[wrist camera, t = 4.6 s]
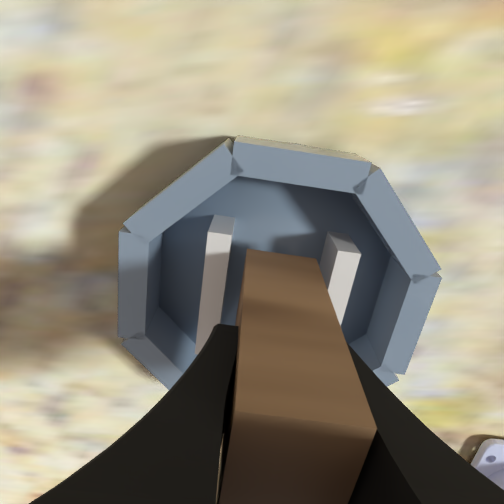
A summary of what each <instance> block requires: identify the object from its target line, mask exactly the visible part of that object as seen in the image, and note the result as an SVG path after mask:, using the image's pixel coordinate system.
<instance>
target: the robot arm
mask: <svg viewBox="0 0 504 504" xmlns="http://www.w3.org/2000/svg"><path fill="white" fill-rule="evenodd" d="M346 343H347V342H346ZM347 346H348V349H349V351H350V354H351V357H352V360H353V363H354V365H355V368H356V371H357V374H358V377H359V379H360V382H361V385H362V388H363V391H364V393H365V396H366V399H367V402H368V405H369V407H370V410H371V413H372V416H373V418H374V421H375V424H376V427H377V430H376V433H375V435H374V438H373V440H372V443H371V446H370V448H369V451H368V453H367V456H366V459H365V461H364V464H363V466H362V469H361V471H360V474H359V477H358V479H357V482H356V484H355V487H354V489H353V492H352V495H351V497H350V500H349V502H348V504H504V440H501V439H487V440H485V441H483V443H482V444H481V446H480V447H479V449H478V451H477V453H476V455H475V457H474V459H473V461H472V462H471V464H469V463H468V462H467V461H465V460H464V459H463V458H462V457H461V456H460V455H458V454H457V453H456V452H455V451H454V450H453V449H451V448H450V447H449V446H448V445H447V444H445V443H444V442H443V441H442V440H441V439H440V438H438V437H437V436H436V435H435V434H434V433H433V432H432V431H431V430H430V429H429V428H427V427H426V426H425V425H424V424H423V423H422V422H421V421H420V420H419V419H418V418H417V417H416V416H415V415H414V414H413V413H412V412H411V411H410V410H409V409H408V408H407V407H406V406H405V405H404V404H403V403H402V402H401V401H400V400H399V399H398V398H397V397H396V396H395V395H394V394H393V393H392V392H391V391H390V390H389V389H388V388H387V387H386V385H385V384H384V383H383V382H382V381H381V380H380V379H379V378H378V377H377V376H376V375H375V373H374V372H373V371H372V370H371V369H370V368H369V367H368V366H367V364H366V363H365V362H364V361H363V360H362V359H361V358H360V356H359V355H358V354H357V353H356V352H355V351H354V350H353V349H352V347H351V346H350V345H349V344H348V343H347ZM237 348H238V326H233V325H226V324H217V325H215V326H214V327H213V330H212V332H211V334H210V336H209V338H208V340H207V341H206V343H205V344H204V346H203V348H202V349H201V351H200V352H199V354H198V355H197V356H196V358H195V359H194V360H193V362H192V363H191V365H190V366H189V367H188V369H187V370H186V371H185V372H184V374H183V375H182V376H181V377H180V378H179V379H178V381H177V382H176V383H175V384H174V385H173V387H172V388H171V389H170V390H169V391H168V392H167V393H166V394H165V396H164V397H163V398H162V399H161V400H160V401H159V402H158V403H157V404H156V405H155V406H154V407H153V408H152V409H151V410H150V411H149V412H148V413H147V414H146V415H145V416H144V417H143V418H142V419H141V420H139V421H138V422H137V423H136V424H135V425H134V426H133V427H131V428H130V429H129V430H128V431H127V432H126V433H125V434H124V435H122V436H121V437H120V438H119V439H118V440H117V441H115V442H114V443H113V444H112V445H111V446H109V447H108V448H107V449H106V450H104V451H103V452H102V453H100V454H99V455H98V456H96V457H95V458H94V459H92V460H91V461H90V462H88V463H87V464H86V465H84V466H83V467H82V468H80V469H79V470H78V471H76V472H75V473H74V474H72V475H71V476H70V477H68V478H67V479H65V480H64V481H63V482H61V483H60V484H58V485H57V486H55V487H54V488H52V489H51V490H49V491H48V492H46V493H45V494H43V495H41V496H40V497H38V498H37V499H35V500H34V501H32V502H31V503H29V504H216V494H217V482H218V471H219V459H220V449H221V444H222V439H223V434H224V428H225V422H226V416H227V409H228V403H229V397H230V391H231V385H232V379H233V372H234V366H235V360H236V354H237Z"/></svg>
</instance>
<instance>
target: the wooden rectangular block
mask: <svg viewBox="0 0 504 504" xmlns="http://www.w3.org/2000/svg"><path fill="white" fill-rule="evenodd" d="M235 326H238V348H237V354H236V360H235V366H234V372H233V379H232V385H231V391H230V397H229V403H228V409H227V416H226V422H225V428H224V434H223V439H222V444H221V453H220V463H219V472H218V482H217V494H216V504H348V502H349V500H350V497H351V495H352V492H353V489H354V487H355V484H356V482H357V479H358V477H359V474H360V471H361V469H362V466H363V464H364V461H365V459H366V456H367V453H368V451H369V448H370V446H371V443H372V440H373V438H374V435H375V433H376V430H377V427H376V424H375V421H374V418H373V416H372V413H371V410H370V407H369V405H368V402H367V399H366V396H365V393H364V391H363V388H362V385H361V382H360V379H359V377H358V374H357V371H356V368H355V365H354V363H353V360H352V357H351V354H350V351H349V349H348V346H347V343H346V340H345V338H344V335H343V332H342V329H341V326H340V324H339V321H338V318H337V315H336V312H335V310H334V307H333V304H332V301H331V298H330V296H329V293H328V290H327V287H326V284H325V282H324V279H323V276H322V273H321V271H320V268H319V265H318V262H317V259H316V258H309V257H302V256H295V255H288V254H281V253H274V252H268V251H261V250H254V249H247V251H246V258H245V264H244V271H243V277H242V283H241V290H240V296H239V303H238V309H237V315H236V322H235Z"/></svg>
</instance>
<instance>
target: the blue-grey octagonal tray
mask: <svg viewBox="0 0 504 504" xmlns="http://www.w3.org/2000/svg"><path fill="white" fill-rule="evenodd" d="M123 224H124V225H125V226H124V227H123V228H122V229H121V230H120V231H119V255H118V337H122V338H124V340H123V341H122V343H121V345H123V346H124V347H125V348H126V349H127V350H128V351H129V352H130V353H131V354H132V355H133V356H134V357H135V358H136V359H137V360H138V361H139V362H140V363H141V364H142V365H143V366H144V367H145V368H147V369H148V370H149V371H150V372H151V373H152V374H153V375H154V376H155V377H156V378H157V379H158V380H159V381H160V382H161V383H162V384H163V385H164V386H165V387H166V388H167V389H168V390H170V389H171V388H172V387H173V385H174V384H175V383H176V382H177V381H178V379H179V378H180V377H181V376H182V375H183V374H184V372H185V371H186V370H187V369H188V367H189V366H190V365H191V363H192V362H193V360H194V359H195V358H196V356H197V355H198V354H199V352H200V351H201V349H202V348H203V346H204V344H205V343H206V341H207V340H208V338H209V336H210V334H211V332H212V330H213V327H214V326H215V325H217V324H226V325H233V326H235V322H236V315H237V309H238V303H239V296H240V290H241V283H242V277H243V271H244V264H245V258H246V251H247V249H254V250H261V251H268V252H274V253H281V254H288V255H295V256H302V257H309V258H316V259H317V262H318V265H319V268H320V271H321V273H322V276H323V279H324V282H325V284H326V287H327V290H328V293H329V296H330V298H331V301H332V304H333V307H334V310H335V312H336V315H337V318H338V321H339V324H340V326H341V329H342V332H343V335H344V338H345V340H346V342H347V343H348V344H349V345H350V346H351V347H352V349H353V350H354V351H355V352H356V353H357V354H358V355H359V356H360V358H361V359H362V360H363V361H364V362H365V363H366V364H367V366H368V367H369V368H370V369H371V370H372V371H373V372H374V373H375V375H376V376H377V377H378V378H379V379H380V380H381V381H382V382H383V383H384V384H385V385H386V387H387V386H389V385H391V384H393V383H395V382H397V381H399V379H398V377H397V375H396V374H404V375H405V372H406V370H407V367H408V365H409V362H410V359H411V357H412V354H413V352H414V349H415V346H416V344H417V341H418V339H419V336H420V333H421V331H422V328H423V326H424V323H425V320H426V318H427V315H428V313H429V310H430V307H431V305H432V302H433V300H434V297H435V294H436V292H437V289H438V287H439V284H440V281H441V279H442V277H441V276H440V275H439V274H438V273H437V271H439V270H441V268H440V266H439V264H438V263H437V261H436V259H435V258H434V256H433V254H432V253H431V251H430V250H429V248H428V246H427V245H426V243H425V241H424V240H423V238H422V236H421V235H420V233H419V231H418V230H417V228H416V226H415V225H414V223H413V221H412V220H411V218H410V216H409V215H408V213H407V211H406V210H405V208H404V207H403V205H402V203H401V202H400V200H399V198H398V197H397V195H396V193H395V192H394V190H393V188H392V187H391V185H390V183H389V182H388V180H387V178H386V177H385V175H384V173H383V172H382V170H381V169H380V168H379V167H377V166H375V165H374V164H372V162H370V161H368V160H366V159H364V158H362V157H360V156H359V155H357V154H355V153H349V152H342V151H336V150H330V149H323V148H317V147H310V146H306V145H301V144H297V143H288V142H278V141H272V140H265V139H259V138H253V137H246V136H240V135H238V136H237V137H236V139H235V141H234V144H233V143H232V141H231V140H230V139H229V138H228V139H226V140H225V141H224V142H223V143H221V144H220V145H219V146H217V147H216V148H215V149H214V150H212V151H211V152H210V153H209V154H207V155H206V156H205V157H204V158H202V159H201V160H200V161H198V162H197V163H196V164H195V165H193V166H192V167H191V168H190V169H188V170H187V171H185V172H184V173H183V174H182V175H181V176H179V177H178V178H177V179H176V180H174V181H173V182H172V183H171V184H169V185H168V186H167V187H165V188H164V189H163V190H162V191H160V192H159V193H158V194H157V195H155V196H154V197H153V198H151V199H150V200H149V201H148V202H146V203H145V204H144V205H143V206H141V207H140V208H139V209H138V210H137V211H136V212H135V213H134V214H132V215H131V216H130V217H129V218H128V219H127V220H126V221H125V222H124V223H123Z"/></svg>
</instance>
